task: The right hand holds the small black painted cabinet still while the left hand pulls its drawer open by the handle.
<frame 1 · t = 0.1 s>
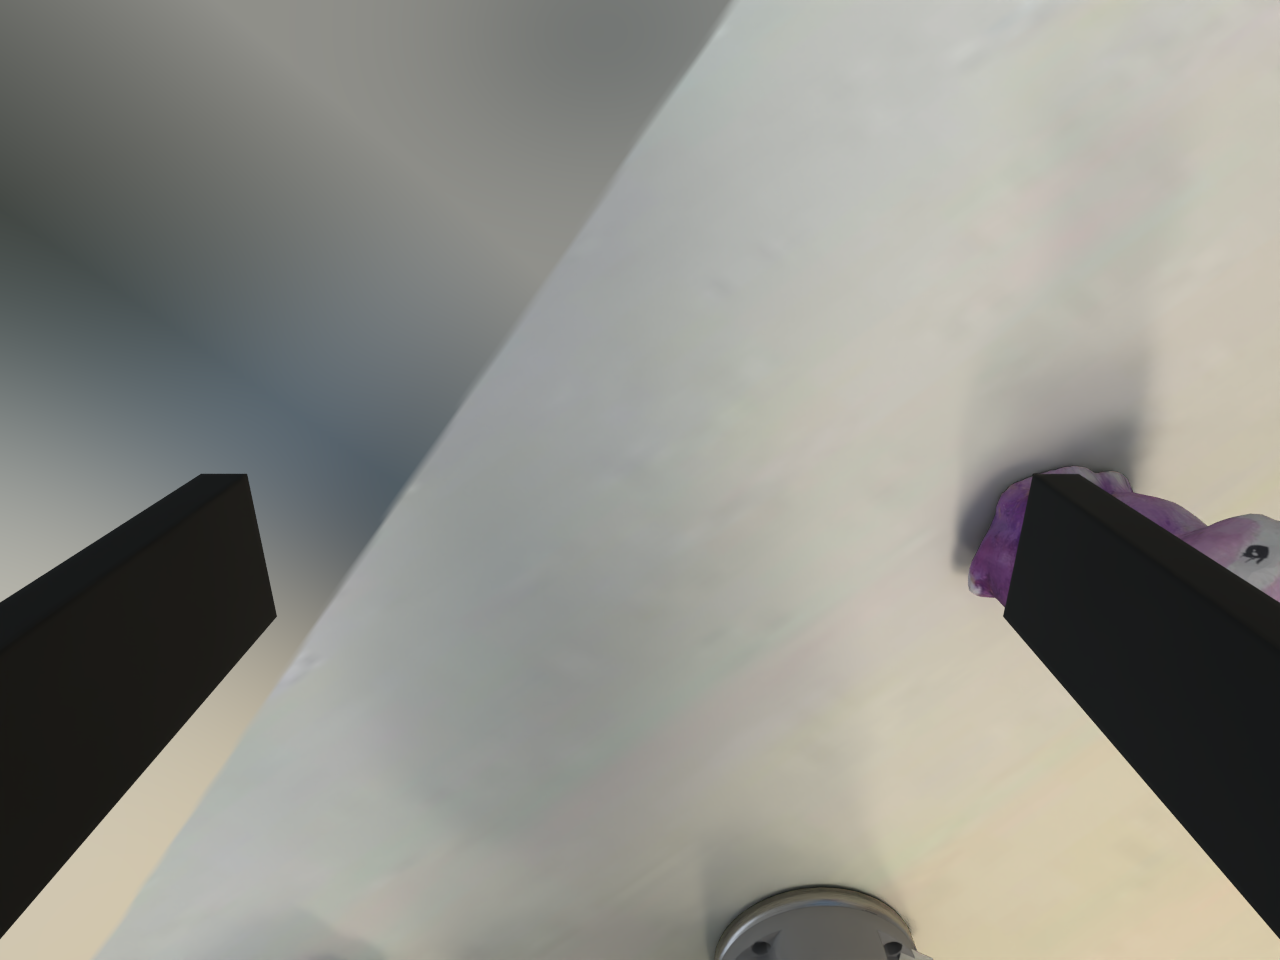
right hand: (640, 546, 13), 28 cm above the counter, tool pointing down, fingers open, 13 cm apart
figurine: (1054, 518, 43), on the counter
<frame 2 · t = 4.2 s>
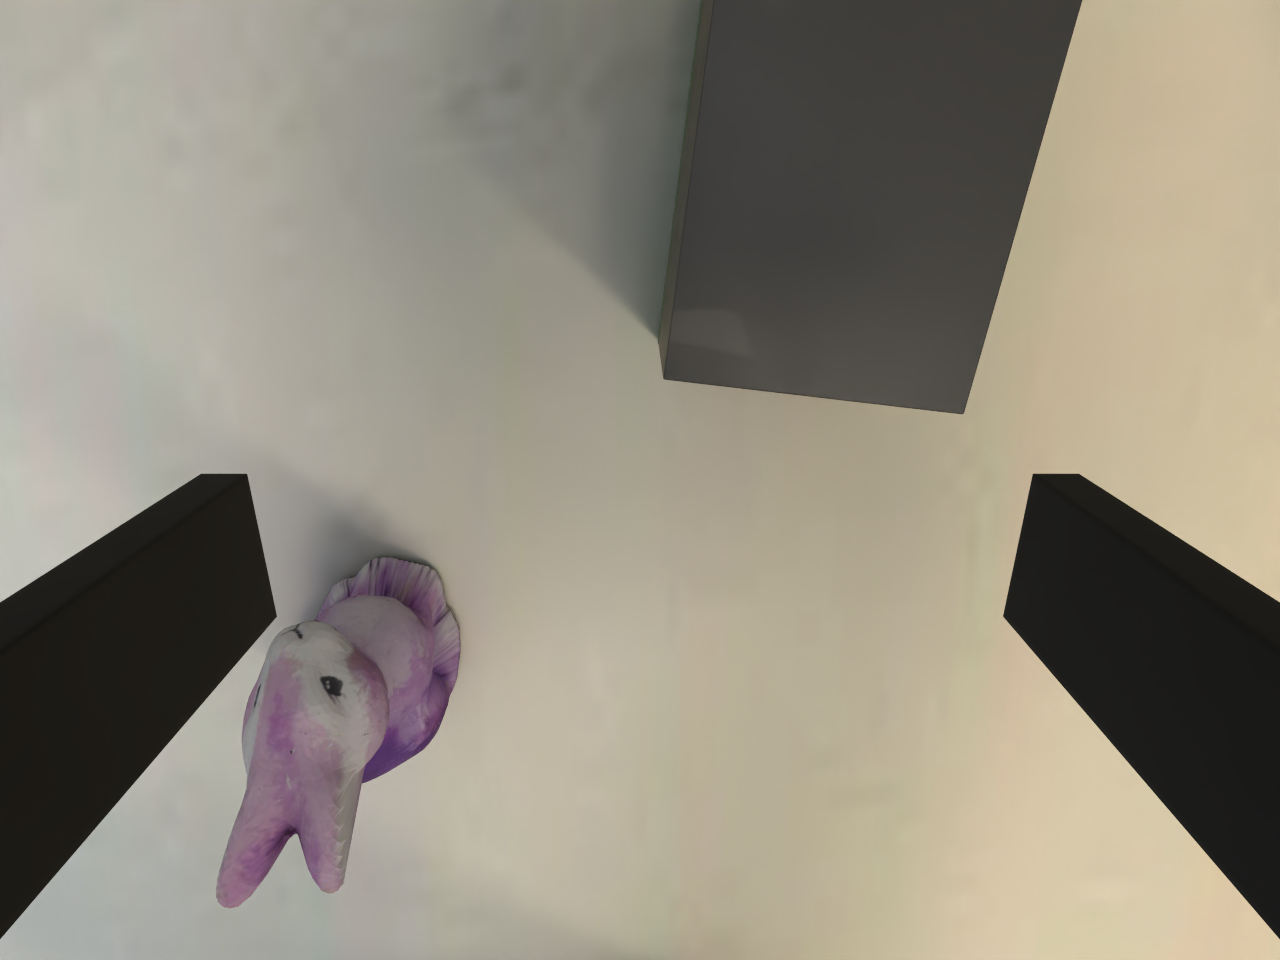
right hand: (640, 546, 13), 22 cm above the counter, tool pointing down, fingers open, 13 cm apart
figurine: (385, 627, 39), on the counter
cabinet: (812, 160, 31), on the counter
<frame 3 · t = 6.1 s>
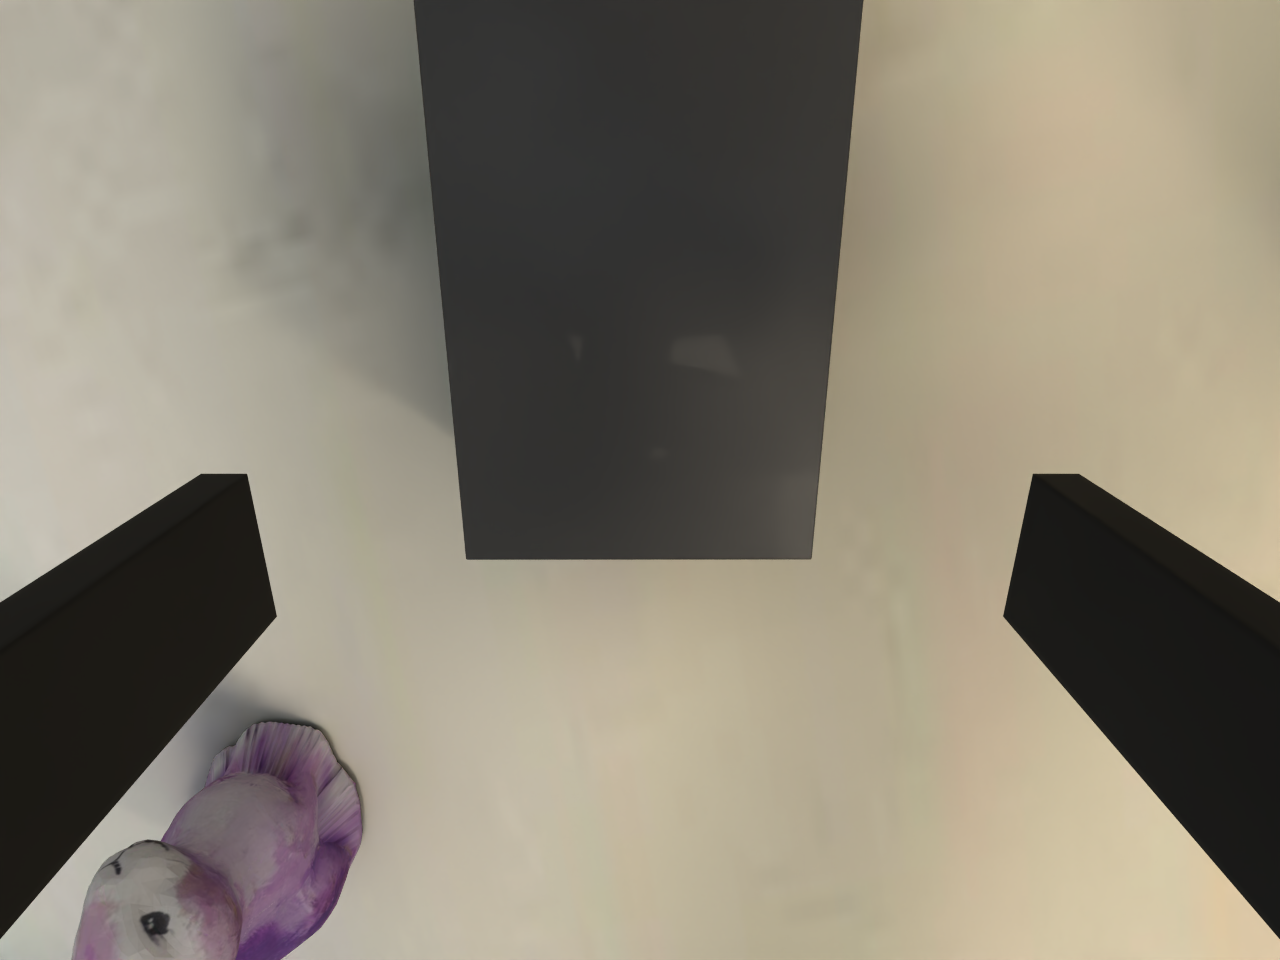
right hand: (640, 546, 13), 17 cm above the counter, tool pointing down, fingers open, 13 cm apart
figurine: (280, 788, 36), on the counter
cabinet: (638, 270, 28), on the counter
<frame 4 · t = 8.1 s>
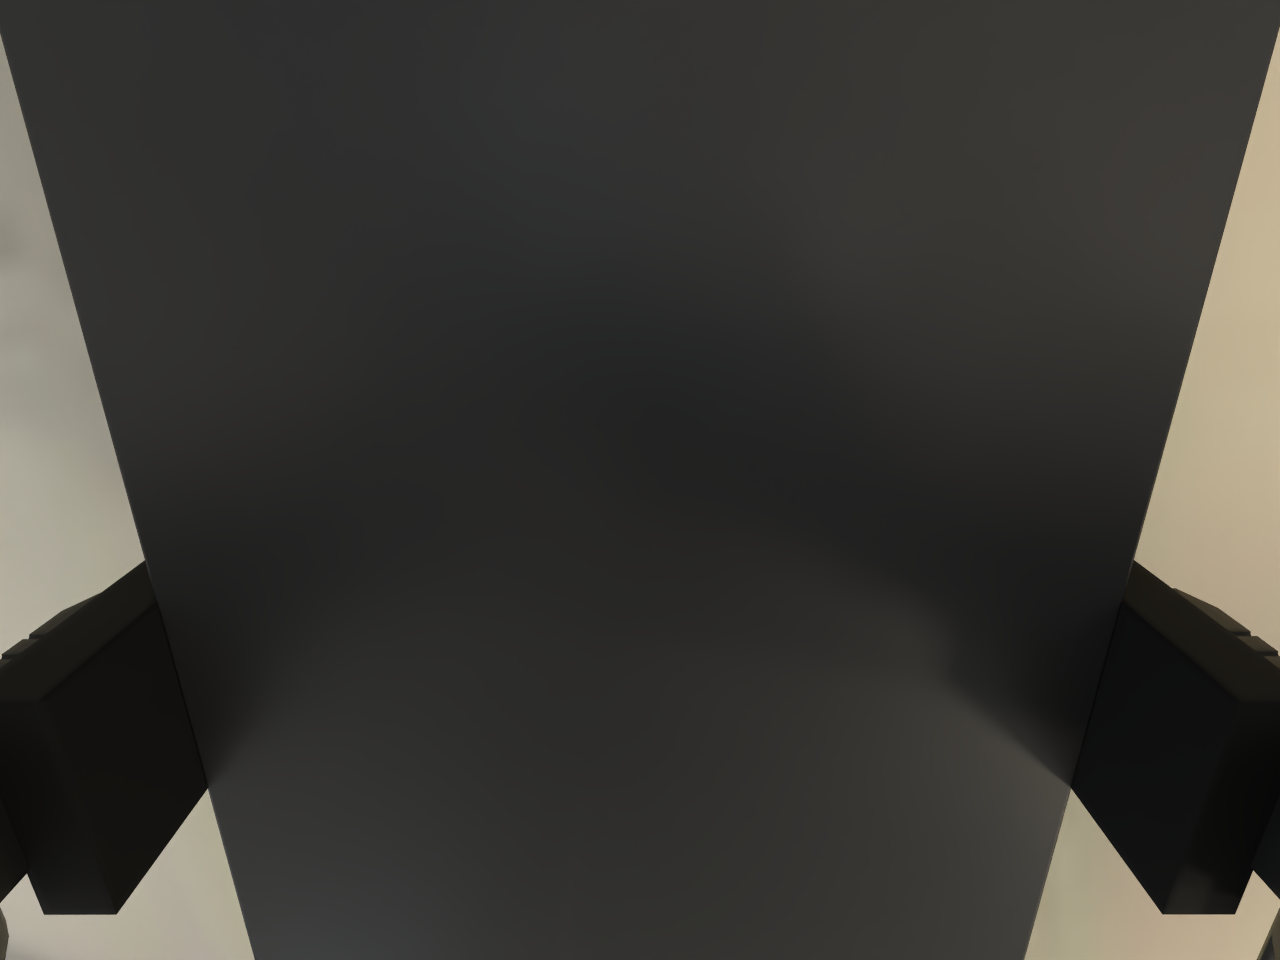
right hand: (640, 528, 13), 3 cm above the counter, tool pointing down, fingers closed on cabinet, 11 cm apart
cabinet: (639, 318, 15), on the counter, touching right hand
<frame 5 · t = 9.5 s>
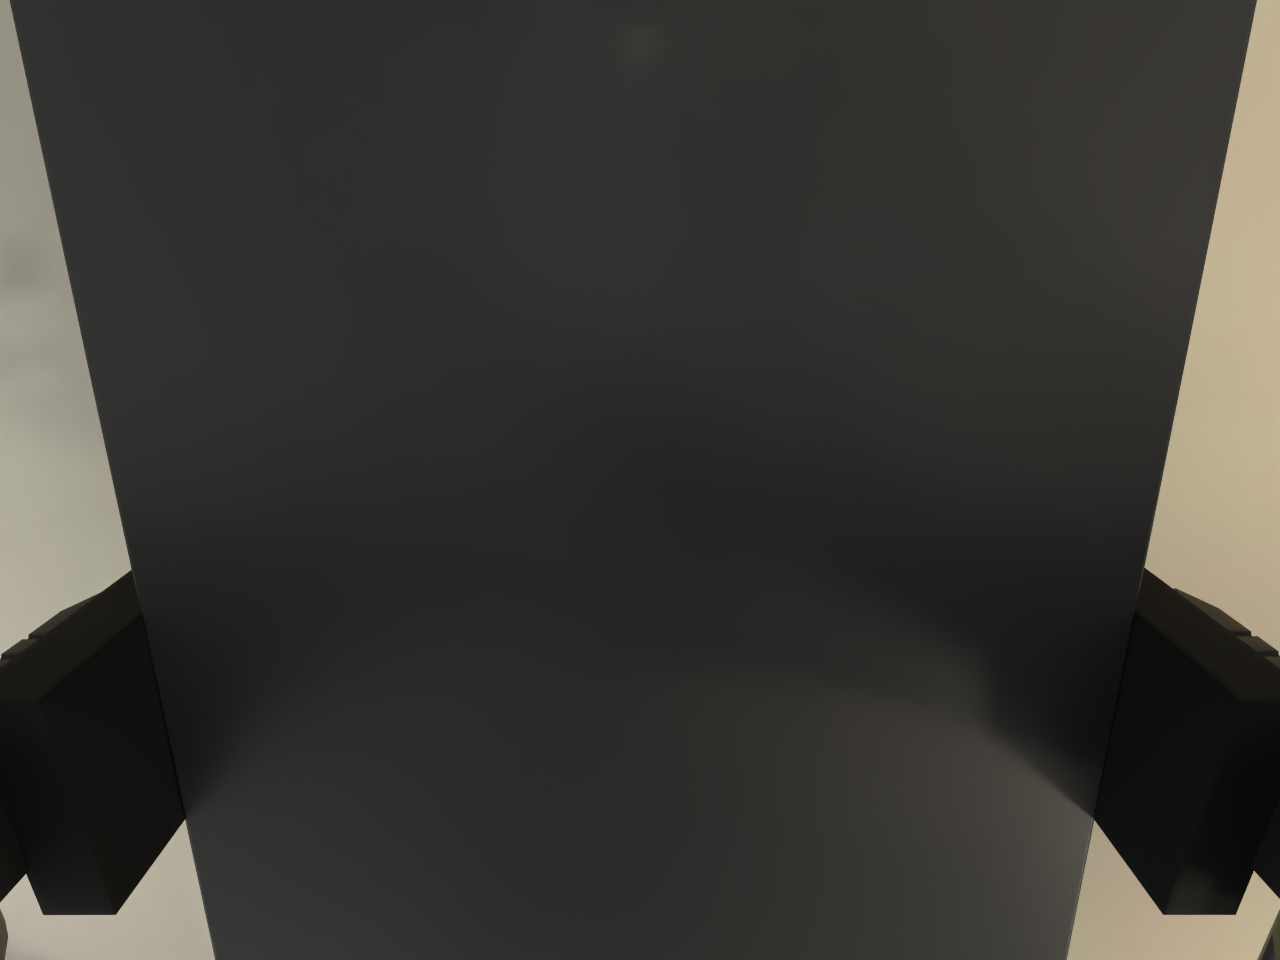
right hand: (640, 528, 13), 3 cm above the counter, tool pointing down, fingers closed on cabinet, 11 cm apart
cabinet: (637, 343, 15), point 1 cm above the counter, touching right hand
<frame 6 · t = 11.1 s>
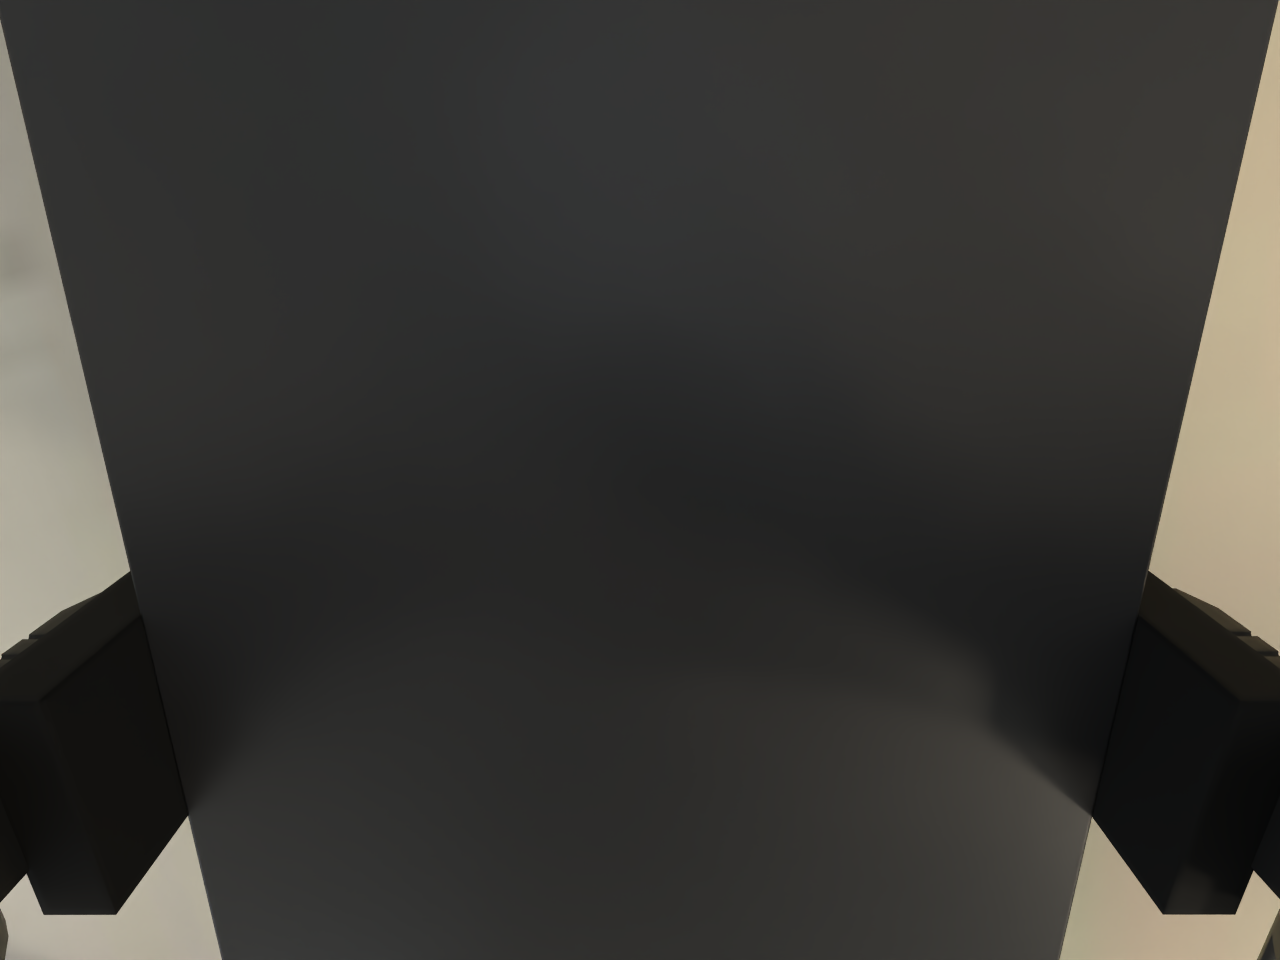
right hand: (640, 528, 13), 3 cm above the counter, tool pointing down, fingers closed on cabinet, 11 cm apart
cabinet: (639, 335, 15), on the counter, touching right hand
when the right hand's fingers open (3 cm above the counter, at t = 12.8 s): cabinet stays where it is, on the counter.
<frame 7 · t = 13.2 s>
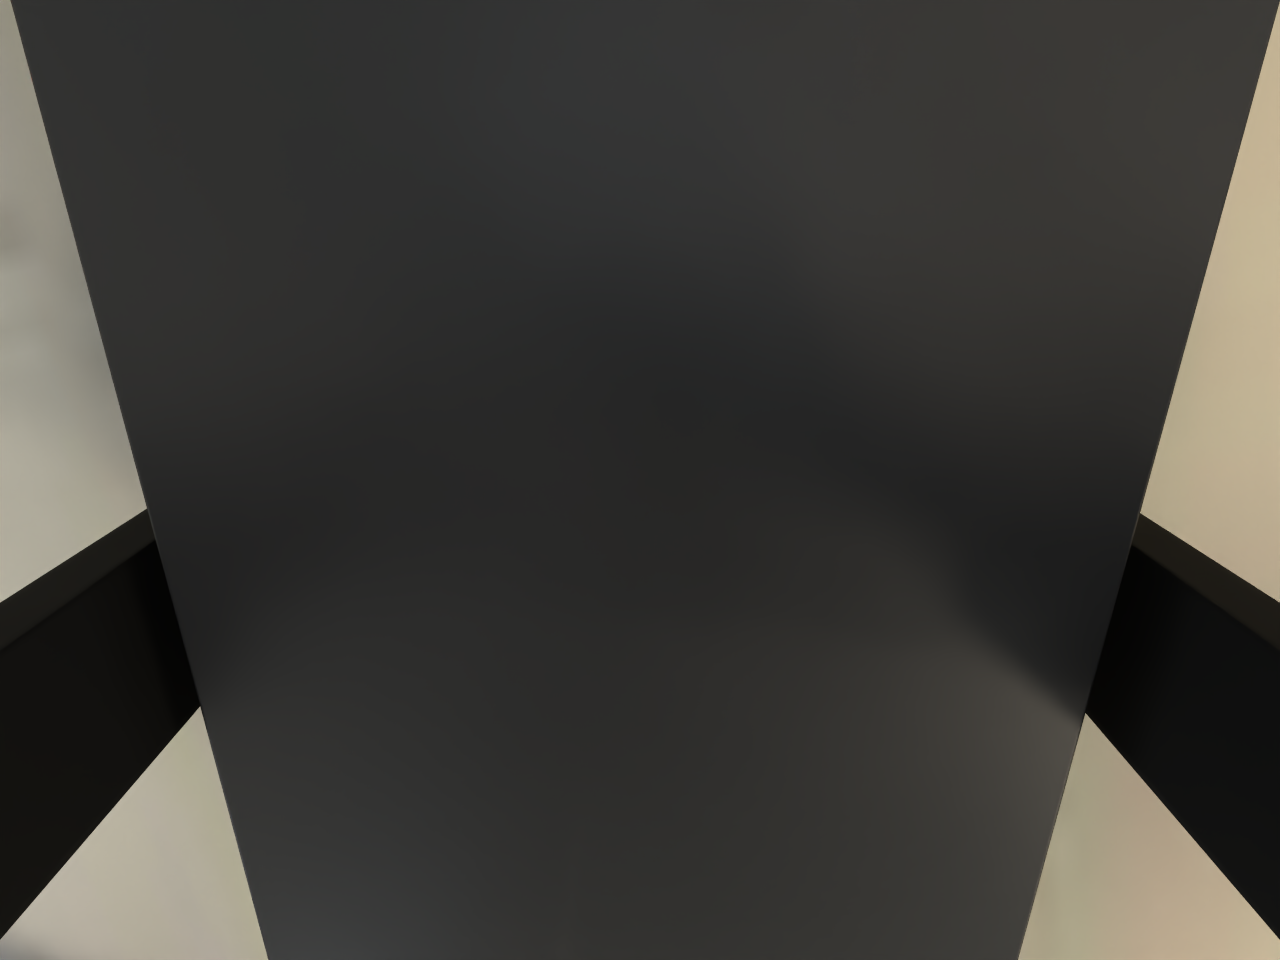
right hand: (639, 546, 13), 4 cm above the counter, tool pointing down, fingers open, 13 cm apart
cabinet: (642, 315, 15), on the counter
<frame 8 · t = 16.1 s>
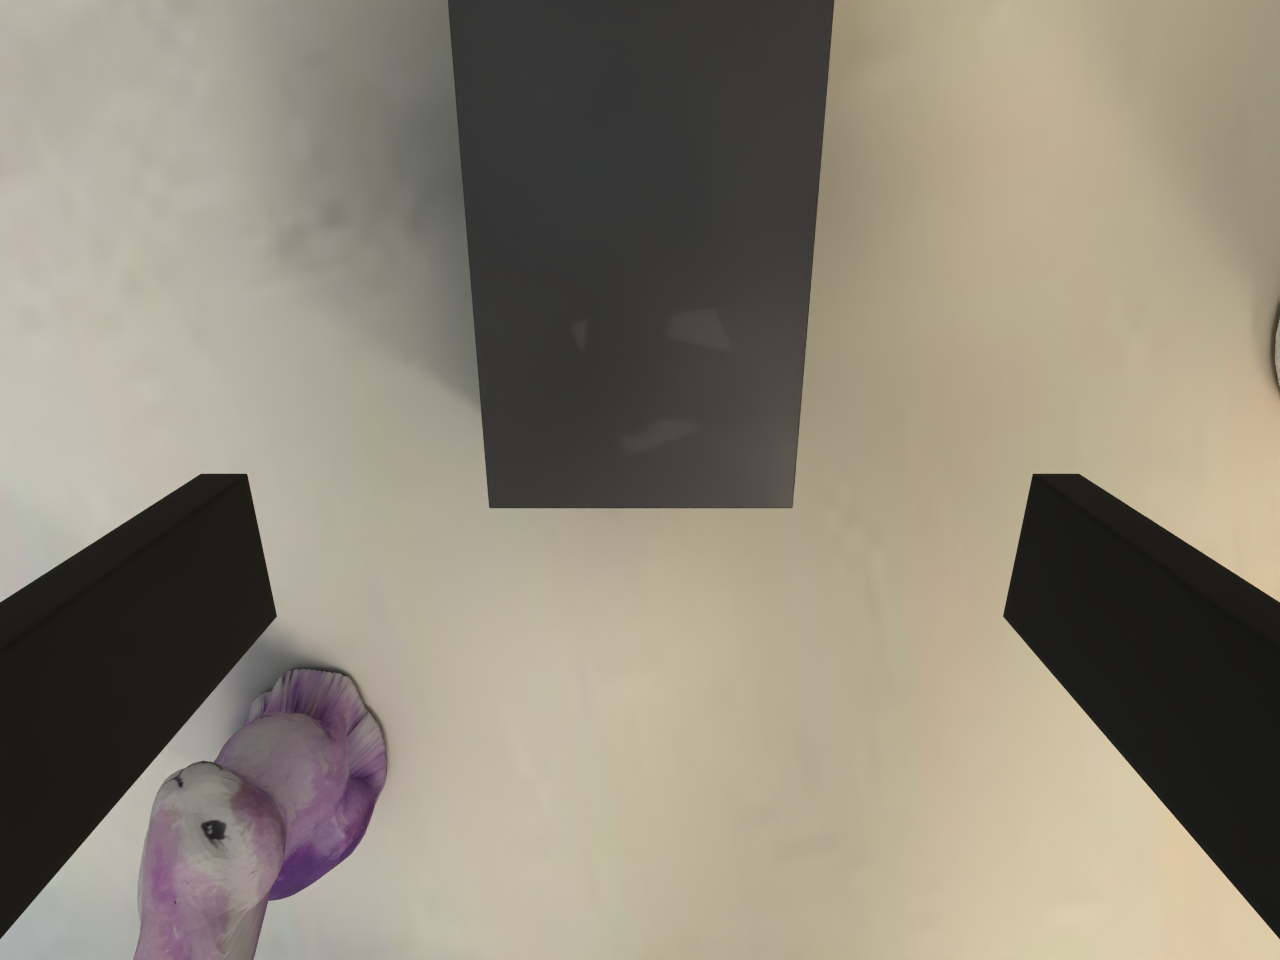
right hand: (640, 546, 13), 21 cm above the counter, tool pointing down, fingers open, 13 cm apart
figurine: (311, 732, 40), on the counter
cabinet: (640, 254, 31), on the counter
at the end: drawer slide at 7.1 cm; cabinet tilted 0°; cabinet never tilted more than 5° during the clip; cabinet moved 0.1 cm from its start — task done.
